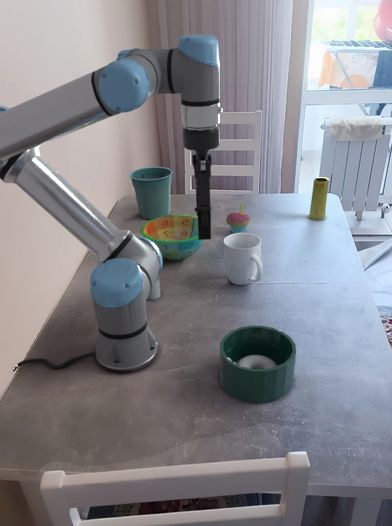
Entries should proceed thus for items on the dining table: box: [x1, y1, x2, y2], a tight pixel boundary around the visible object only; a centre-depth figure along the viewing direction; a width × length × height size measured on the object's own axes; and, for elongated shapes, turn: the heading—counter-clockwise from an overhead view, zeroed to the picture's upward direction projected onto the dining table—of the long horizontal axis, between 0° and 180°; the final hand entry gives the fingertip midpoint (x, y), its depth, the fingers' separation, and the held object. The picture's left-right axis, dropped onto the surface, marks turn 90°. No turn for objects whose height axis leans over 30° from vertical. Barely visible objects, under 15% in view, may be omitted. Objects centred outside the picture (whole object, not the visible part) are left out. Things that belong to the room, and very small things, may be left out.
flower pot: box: [129, 166, 173, 220], centre depth 187 cm, size 16×16×16 cm
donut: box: [237, 355, 277, 369], centre depth 110 cm, size 10×4×10 cm
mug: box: [222, 232, 264, 286], centre depth 142 cm, size 15×11×13 cm
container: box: [146, 277, 162, 302], centre depth 137 cm, size 5×5×15 cm
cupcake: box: [225, 199, 251, 234], centre depth 173 cm, size 9×8×12 cm
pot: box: [219, 325, 297, 404], centre depth 109 cm, size 17×17×9 cm
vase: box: [308, 177, 330, 221], centre depth 180 cm, size 6×6×14 cm
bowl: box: [140, 214, 205, 261], centre depth 159 cm, size 22×22×10 cm
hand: (203, 226), depth 110 cm, fingers open, 13 cm apart
